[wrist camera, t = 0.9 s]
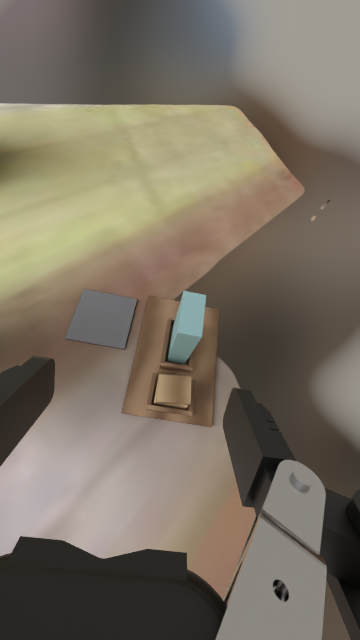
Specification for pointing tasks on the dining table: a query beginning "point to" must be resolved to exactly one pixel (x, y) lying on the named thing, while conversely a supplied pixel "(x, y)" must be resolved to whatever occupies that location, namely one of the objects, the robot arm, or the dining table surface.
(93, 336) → the mat
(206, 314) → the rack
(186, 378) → the offcut top
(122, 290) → the dining table surface
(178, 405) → the offcut low
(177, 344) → the teal rectangular block
